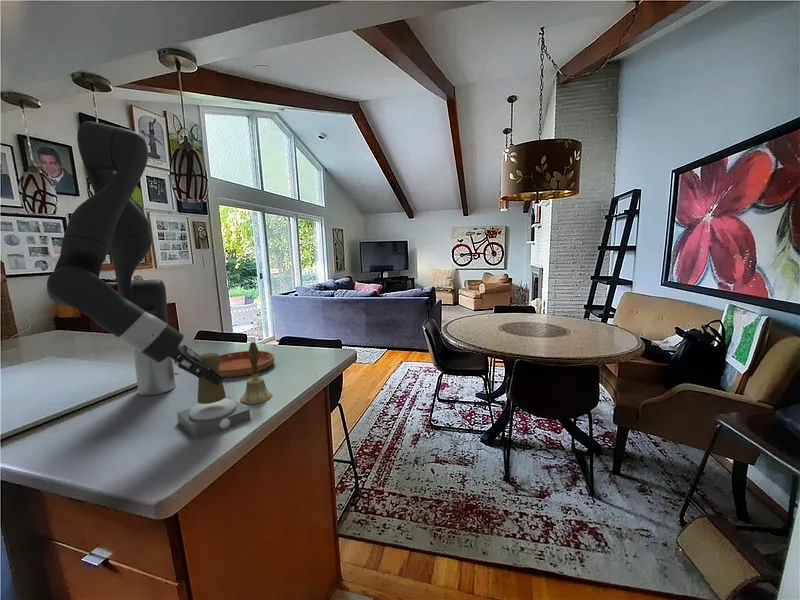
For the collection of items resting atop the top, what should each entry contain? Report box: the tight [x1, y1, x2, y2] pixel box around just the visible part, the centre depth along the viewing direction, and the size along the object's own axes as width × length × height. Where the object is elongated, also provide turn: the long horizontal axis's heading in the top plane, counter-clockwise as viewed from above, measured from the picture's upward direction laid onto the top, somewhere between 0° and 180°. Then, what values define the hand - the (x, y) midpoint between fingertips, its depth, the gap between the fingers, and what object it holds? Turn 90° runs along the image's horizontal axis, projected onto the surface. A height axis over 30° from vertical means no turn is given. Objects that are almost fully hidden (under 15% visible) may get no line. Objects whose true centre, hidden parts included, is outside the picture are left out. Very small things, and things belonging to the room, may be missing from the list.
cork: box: [196, 352, 227, 404], centre depth 82 cm, size 6×6×11 cm
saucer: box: [219, 350, 275, 378], centre depth 123 cm, size 23×23×4 cm
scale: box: [176, 396, 251, 440], centre depth 84 cm, size 12×12×4 cm
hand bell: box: [239, 341, 273, 405], centre depth 96 cm, size 8×8×16 cm
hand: (219, 378), depth 83 cm, fingers closed on cork, 4 cm apart
